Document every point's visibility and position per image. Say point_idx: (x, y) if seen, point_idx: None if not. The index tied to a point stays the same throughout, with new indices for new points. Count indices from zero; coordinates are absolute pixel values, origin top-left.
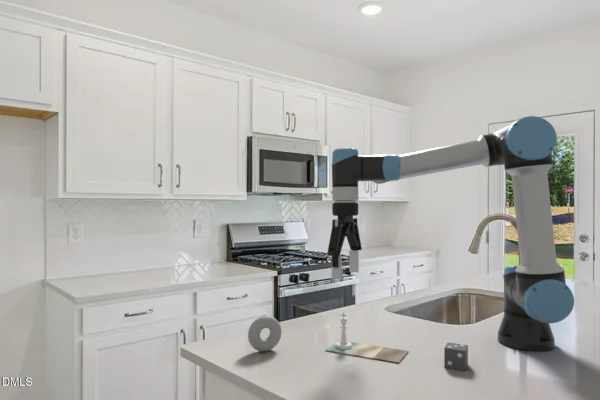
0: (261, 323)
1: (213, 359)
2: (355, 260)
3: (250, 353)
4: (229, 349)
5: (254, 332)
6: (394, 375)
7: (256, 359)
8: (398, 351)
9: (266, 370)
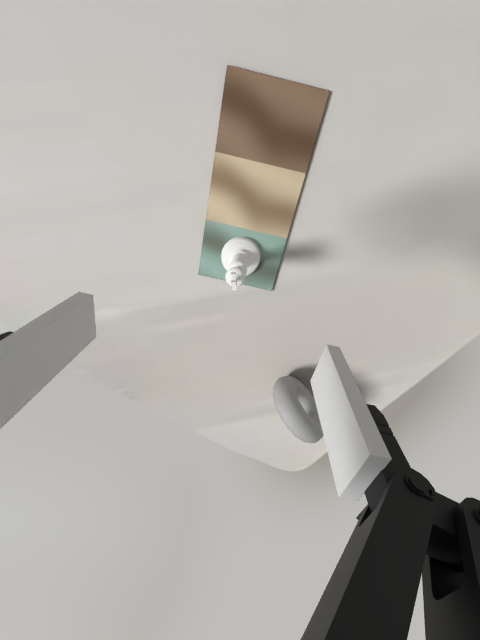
0: (320, 428)
1: None
2: (46, 342)
3: None
4: None
5: None
6: (415, 98)
7: None
8: (239, 100)
9: (387, 361)
